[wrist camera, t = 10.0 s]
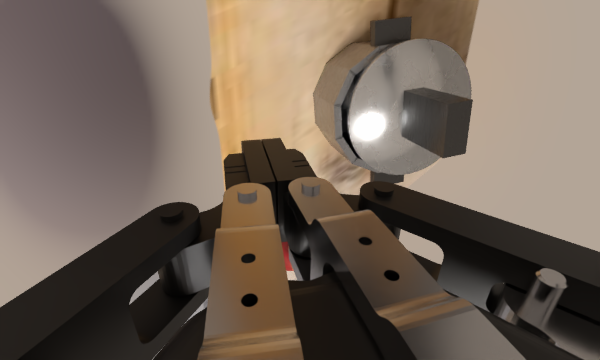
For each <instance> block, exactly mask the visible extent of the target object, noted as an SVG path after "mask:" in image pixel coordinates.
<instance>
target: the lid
mask: <svg viewBox="0 0 600 360" xmlns="http://www.w3.org/2000/svg"><path fill="white" fill-rule="evenodd" d="M472 101H473V100H472V99H471V82H470V77H469V73H468V70H467V68H466V65H465V63H464V61H463V60H462V58H461V57H460V56H459V54H458V53H457V52H456V51H455V50H454V49H452V48H451V47H450V46H448V45H446V44H444V43H442V42H440V41H436V40H432V39H410V40H405V41H402V42H399V43H396V44H394V45H392V46H390V47H388V48H387V49H385V50H384V51H382V52H381V53H379V54H378V55H377V56H376V57H375V58H374V59H373V60H372V61H371V62H370V63H369V64H368V65H367V66H366V68H365V69H364V70H363V72H362V73H361V75H360V76H359V78H358V80H357V82H356V83H355V85H354V88H353V90H352V93H351V96H350V100H349V103H348V110H347V129H348V134H349V138H350V141H351V144H352V146H353V148H354V150H355V151H356V153H357V154H358V155H359V157H360V158H361V159H362V160H363V161H364V162H365V163H367V164H368V165H369V166H371V167H372V168H374V169H375V170H377V171H380V172H382V173H386V174H392V175H404V174H410V173H413V172H417V171H419V170H422V169H424V168H426V167H428V166H429V165H431V164H432V163H434V162H435V161H437V160H438V159H439V158H440V157H441V158H447V157H451V156H455V155H461V154H465V152H466V145H467V138H468V130H469V122H470V115H471V108H472Z"/></svg>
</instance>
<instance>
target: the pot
mask: <svg viewBox="0 0 600 360" xmlns="http://www.w3.org/2000/svg"><path fill="white" fill-rule="evenodd" d="M410 36H411V17H402V18H393V19H384V20H375V21H371V41H367V42H359V43H351V44H350V45H349V46H347V47H346V48H345V49H344V50H342V51H341V52H340V53H339V54H337V55H336V56H335V57H334V58H332V59H331V60H330V61H329V62H328V63H326V65H325V67H324V70H323V72H322V74H321V77H320V79H319V81H318V84H317V86H316V88H315V91H314V93H313V97H314V110H315V123H316V125H317V126H318V128H319V129H320V130H321V132H322V133H323V135H324V136H325V137H326V139H327V140H328V142H329V143H330V144H331V146H333V147H334V148H335V149H336V150H337V151H338V152H339V153H340V154H342V155H343V156H344V157H345V158H346V159H347V160H348V161H350V162H351V163H352V164H354V165H357V166H360V167H363V168H365V169H368V170H371V182H373V181H383V182H389V183H393V184H394V183H399V182H403V181H404V175H392V174H386V173H382V172H380V171H377V170H375V169H374V168H372V167H371V166H369V165H368V164H367V163H365V162H364V161H363V160H362V159H361V158H360V157H359V155H358V154H357V153H356V151H355V150H354V148H353V146H352V144H351V141H350V138H349V134H348V129H347V110H348V103H349V100H350V96H351V93H352V90H353V88H354V85H355V83H356V82H357V80H358V78H359V76H360V75H361V73H362V72H363V70H364V69H365V68H366V66H367V65H368V64H369V63H370V62H371V61H372V60H373V59H374V58H375V57H376V56H377V55H378V54H379V53H381V52H382V51H384V50H385V49H387V48H388V47H390V46H392V45H394V44H396V43H399V42H402V41H405V40H410Z"/></svg>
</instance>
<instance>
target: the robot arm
mask: <svg viewBox="0 0 600 360" xmlns="http://www.w3.org/2000/svg"><path fill="white" fill-rule="evenodd" d="M241 144H242V153H239V154H229V155H228V156H227V157H226V158H225V160H224V171H225V184H226V191H225V193H224V196H223V202H222V203H221V204H220V205H218V206H216V207H215V208H212V209H210V210H207V211H204V212H201V213H199V210H198V208H197V207H196V206H195V205H193V204H190V203H185V202H175V203H169V204H165V205H161V206H159V207H157V208H155V209H153V210H151V211H150V212H148V213H147V214H145V215H144V216H142V217H141V218H139V219H138V220H136V221H134V222H133V223H131V224H130V225H128V226H127V227H125V228H123V229H122V230H120V231H119V232H117V233H116V234H114V235H112V236H111V237H109V238H108V239H106V240H105V241H103V242H102V243H100V244H98V245H97V246H95V247H94V248H92V249H91V250H89V251H88V252H86V253H84V254H83V255H81V256H80V257H78V258H77V259H75V260H74V261H72V262H71V263H69V264H67V265H66V266H64V267H63V268H61V269H60V270H58V271H56V272H55V273H53V274H52V275H50V276H49V277H47V278H46V279H44V280H43V281H41V282H39V283H38V284H36V285H35V286H33V287H31V288H30V289H28V290H27V291H25V292H24V293H22V294H21V295H19V296H17V297H16V298H14V299H13V300H11V301H10V302H8V303H6V304H5V305H3V306H2V307H0V360H152V359H153V358H154V359H153V360H600V252H598V251H595V250H591V249H589V248H586V247H583V246H580V245H577V244H574V243H571V242H568V241H565V240H562V239H559V238H556V237H552V236H550V235H547V234H543V233H541V232H537V231H535V230H531V229H528V228H525V227H522V226H519V225H516V224H513V223H510V222H507V221H504V220H501V219H498V218H495V217H492V216H489V215H486V214H483V213H480V212H477V211H474V210H471V209H468V208H465V207H462V206H459V205H456V204H453V203H450V202H447V201H444V200H441V199H438V198H435V197H432V196H428V195H426V194H423V193H420V192H417V191H414V190H411V189H408V188H405V187H402V186H399V185H396V184H393V183H389V182H383V181H373V182H368V183H366V184H364V185H362V186H361V188H360V195H347V194H339V193H338V191H337V190H336V189H335V188H334V187H333V185H332V184H331V183H330V182H328V181H327V180H325V179H322V178H318V177H317V176H316V175H315V173H314V171H313V170H312V168H311V166H310V165H309V163H308V161H307V160H306V158H305V156H304V155H303V153H301V152H299V151H297V150H296V149H287V150H286V148H285V146H284V144H283V142H282V140H281V138H274V139H262V140H247V141H241ZM401 229H402V230H405V231H407V232H410V233H412V234H415V235H417V236H420V237H422V238H425V239H427V240H430V241H432V242H434V243H436V244H437V245H438V246H440V248H441V249H442V251H443V253H444V259H443V262H442V265H441V264H437V263H435V262H432V261H430V260H428V259H426V258H423V257H421V256H419V255H417V254H414V253H412V252H410V251H408V250H407V249H406V248H405V247H404V246H403V244H402V243H401V242H400V241H399V235H400V230H401ZM281 242H288V245H289V260H290V263H291V265H292V268H293V270H294V272H295V275H296V277H297V280H298V281H294V280H288V278H287V273H286V267H285V261H284V255H283V249H282V243H281ZM157 271H158V274H159V278H160V279H159V280H157V282H155V283H154V284H153V285H152V286H151V287H149V289H148V290H146V291H145V292H144V293H143V294H142V295H140V296H139V297H138V298H137V299H136V300H135V301H134V302H132V303H131V304H130V305H129V302H130V299H131V297H132V295H133V293H134V292H135V290H136V289H137V288H138V287H139V286H140V285H142V284H143V283H144V282H145V281H146V280H148V279H149V278H150V277H151V276H152V275H154V274H155V273H156V272H157ZM207 297H208V304H207V308H205V309H204V310H202V311H200V312H199V313H197V314H196V315H195V316H193V317H192V318H191V319H190V320H188V318H190V316H191V315H192V314H193V313H194V312H195V311H196V310H197V309H198V308H199V307H200V305H201V304H202V303H203V302H204V301H205V300H206V299H207ZM187 320H188V321H187ZM186 321H187V322H186ZM185 322H186V323H185ZM184 323H185V324H184ZM183 324H184V325H183ZM182 325H183V326H182ZM164 345H165V346H164ZM163 346H164V347H163ZM161 349H162V350H161ZM159 351H160V352H159ZM158 352H159V353H158ZM157 353H158V354H157ZM156 354H157V355H156ZM155 355H156V356H155ZM154 356H155V357H154Z"/></svg>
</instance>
